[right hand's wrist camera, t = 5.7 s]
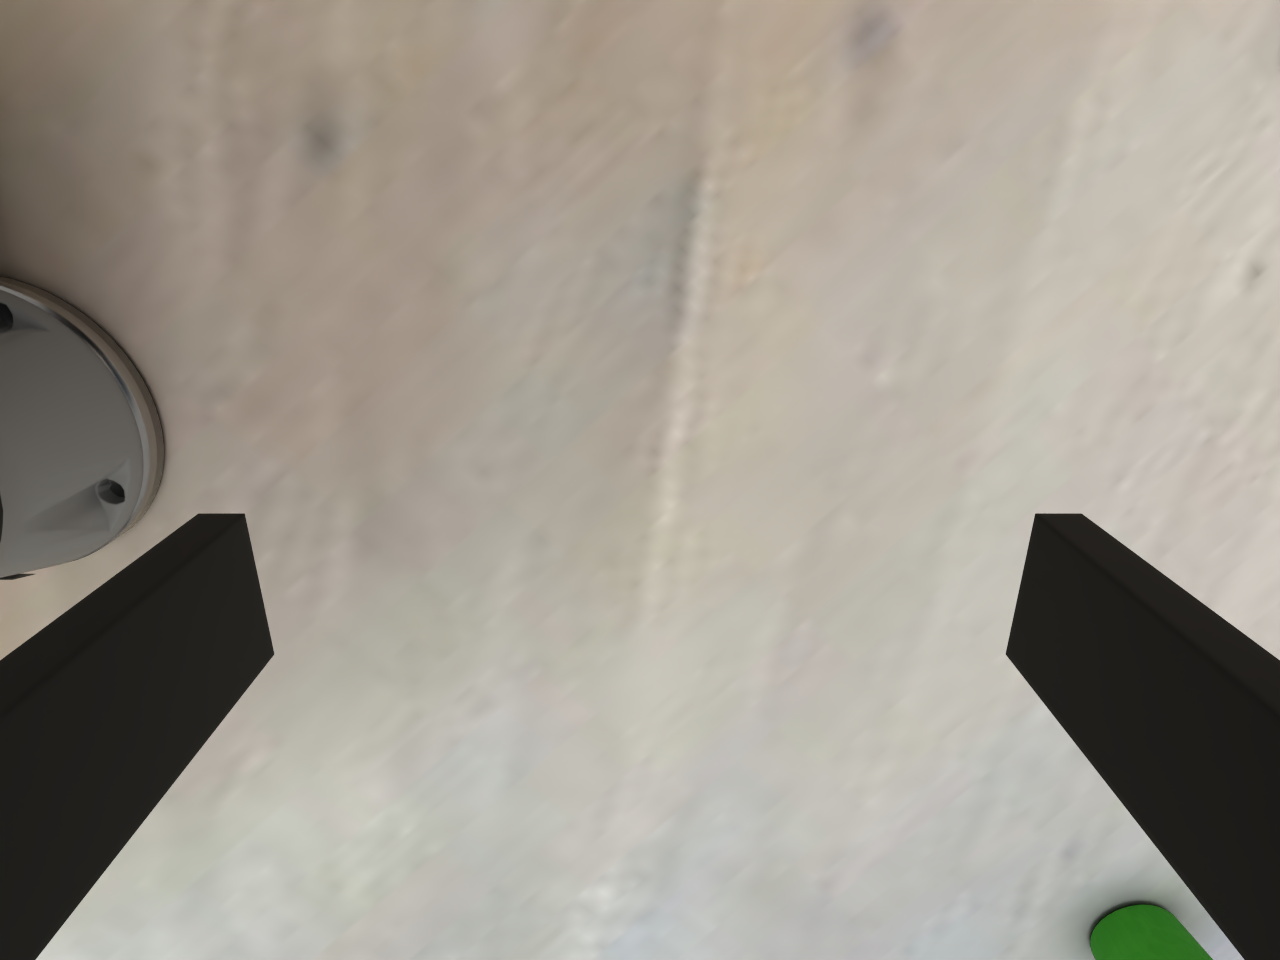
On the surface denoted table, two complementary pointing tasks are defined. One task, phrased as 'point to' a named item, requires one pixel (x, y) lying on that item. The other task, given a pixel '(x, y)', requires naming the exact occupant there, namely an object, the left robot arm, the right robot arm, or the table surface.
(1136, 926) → the potted flower
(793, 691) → the table surface
